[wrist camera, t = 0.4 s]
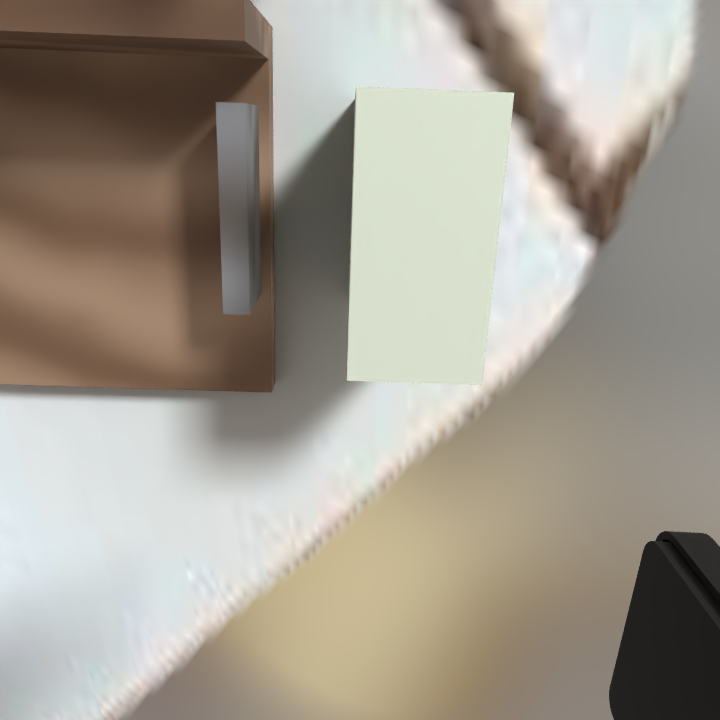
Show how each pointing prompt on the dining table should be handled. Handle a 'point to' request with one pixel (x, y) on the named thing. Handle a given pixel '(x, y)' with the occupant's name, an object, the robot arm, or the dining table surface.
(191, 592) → the dining table surface
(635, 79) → the dining table surface
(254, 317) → the shelf
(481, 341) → the pale green box
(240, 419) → the dining table surface
